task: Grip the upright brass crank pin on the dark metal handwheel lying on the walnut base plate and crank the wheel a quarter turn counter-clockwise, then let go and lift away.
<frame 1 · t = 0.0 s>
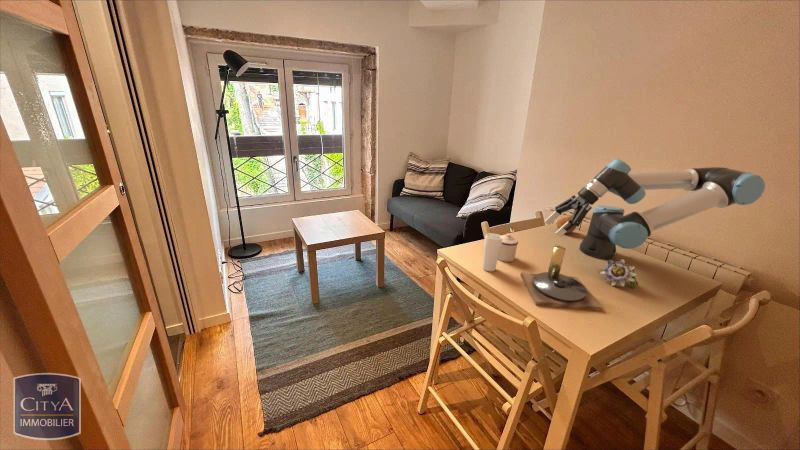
hand: (551, 228, 136), 15 cm above the table, tool tilted 35°, fingers open, 13 cm apart
onion: (564, 232, 175), on the table
drinking glass: (488, 269, 132), on the table
base plate: (557, 291, 117), on the table
teacup with lid: (501, 256, 143), on the table
passion flower: (616, 283, 125), on the table
handwheel: (562, 272, 114), point 9 cm above the table, hinge at 0.0°
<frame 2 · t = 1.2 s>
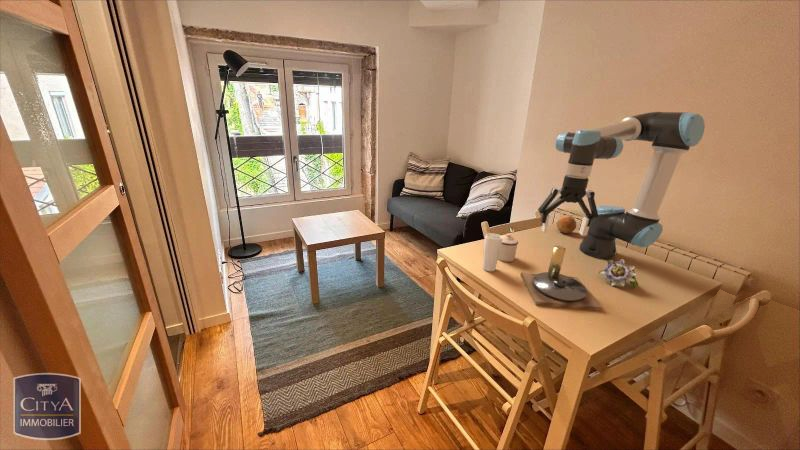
hand: (562, 232, 116), 21 cm above the table, tool pointing down, fingers open, 13 cm apart
nothing on the table moved.
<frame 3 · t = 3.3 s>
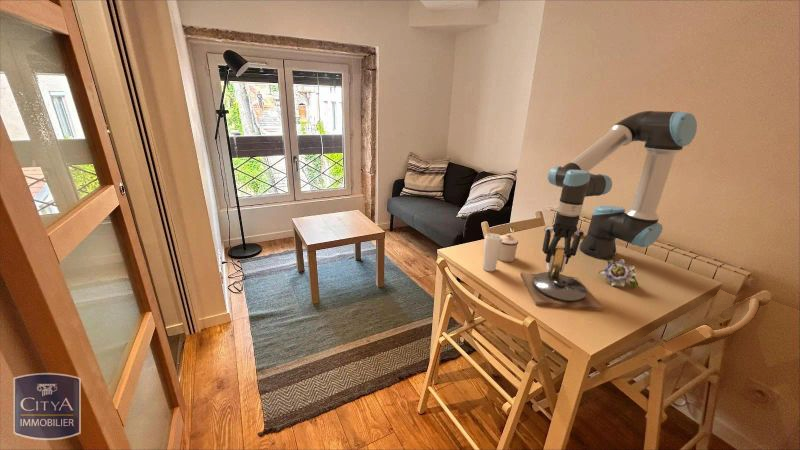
hand: (554, 270, 121), 6 cm above the table, tool pointing down, fingers closed on handwheel, 4 cm apart
handwheel: (562, 272, 114), point 9 cm above the table, hinge at 0.0°, touching gripper
everything else where it was.
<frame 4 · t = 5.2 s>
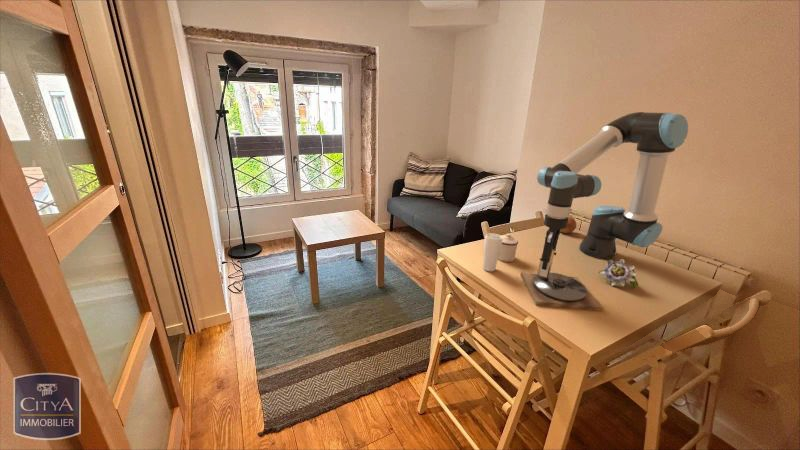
hand: (544, 272, 119), 6 cm above the table, tool pointing down, fingers open, 5 cm apart
handwheel: (562, 272, 114), point 9 cm above the table, hinge at 45.3°, touching gripper
everything else where it was.
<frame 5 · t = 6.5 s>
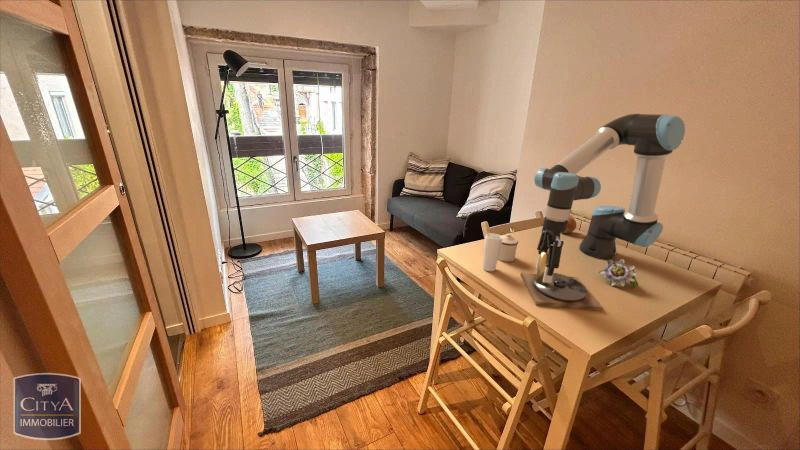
hand: (542, 276, 115), 6 cm above the table, tool pointing down, fingers open, 8 cm apart
handwheel: (562, 272, 114), point 9 cm above the table, hinge at 82.9°
everything else where it was.
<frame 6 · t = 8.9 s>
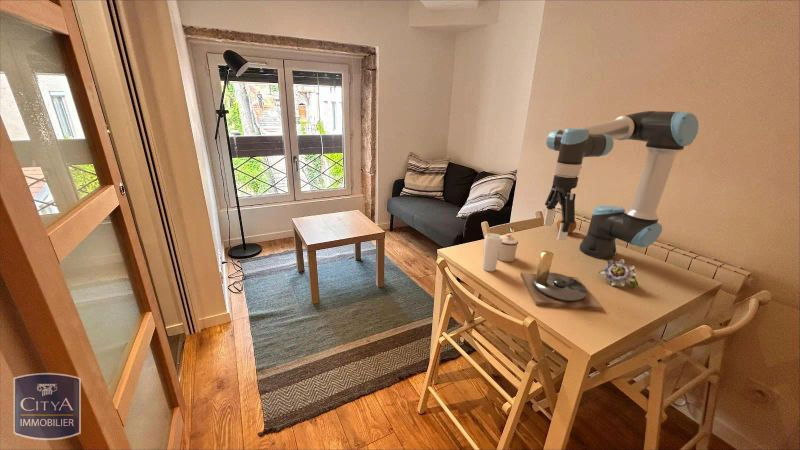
hand: (554, 232, 115), 22 cm above the table, tool pointing down, fingers open, 13 cm apart
nothing on the table moved.
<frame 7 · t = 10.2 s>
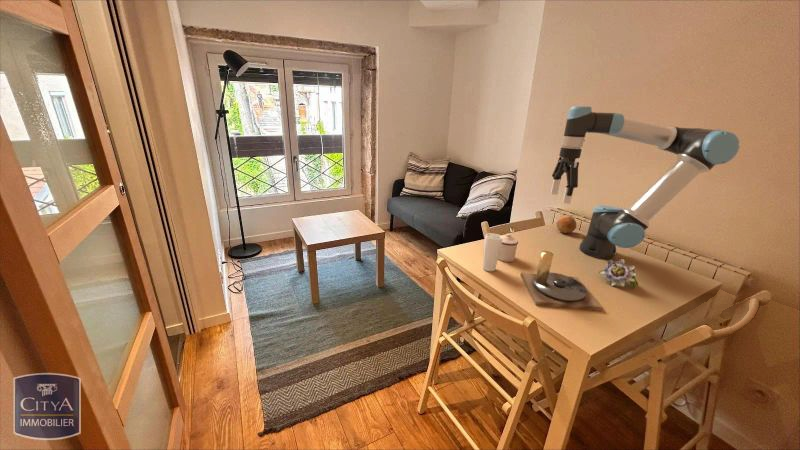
hand: (559, 198, 132), 29 cm above the table, tool pointing down, fingers open, 13 cm apart
nothing on the table moved.
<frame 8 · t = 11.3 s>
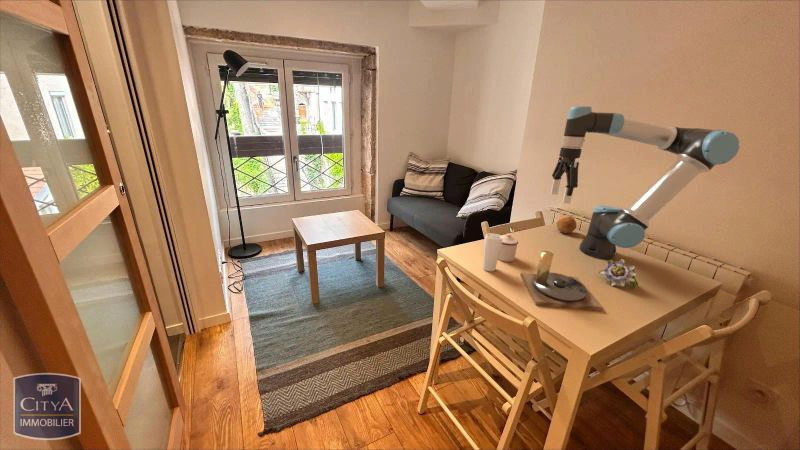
hand: (559, 198, 132), 29 cm above the table, tool pointing down, fingers open, 13 cm apart
nothing on the table moved.
at the end: handwheel at +83° (first picture: +0°); drinking glass moved 0.2 cm from its start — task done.
